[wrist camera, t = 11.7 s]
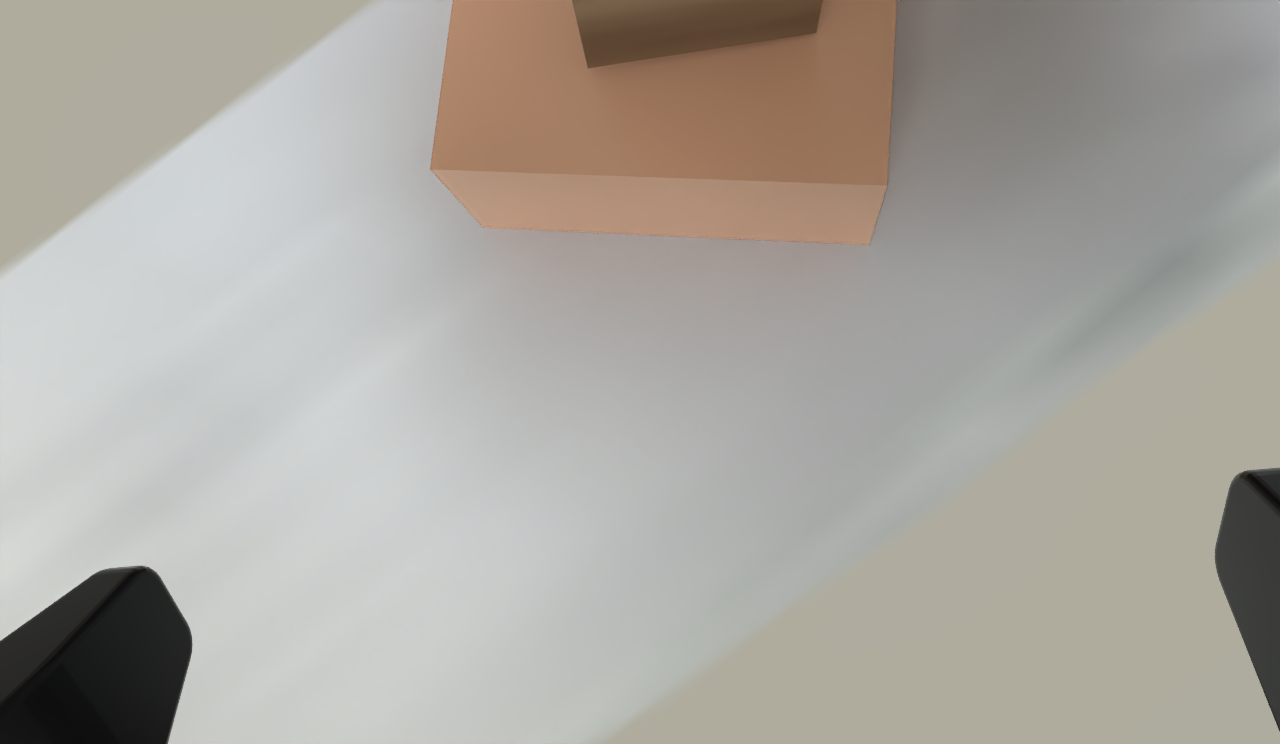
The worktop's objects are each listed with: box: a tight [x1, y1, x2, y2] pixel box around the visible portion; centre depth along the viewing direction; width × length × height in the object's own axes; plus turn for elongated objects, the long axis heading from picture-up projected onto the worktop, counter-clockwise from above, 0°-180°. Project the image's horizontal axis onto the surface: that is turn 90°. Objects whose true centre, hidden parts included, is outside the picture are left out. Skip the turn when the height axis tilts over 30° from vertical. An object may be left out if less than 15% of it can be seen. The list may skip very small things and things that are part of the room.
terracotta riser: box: [430, 0, 897, 245], centre depth 22 cm, size 9×9×4 cm
